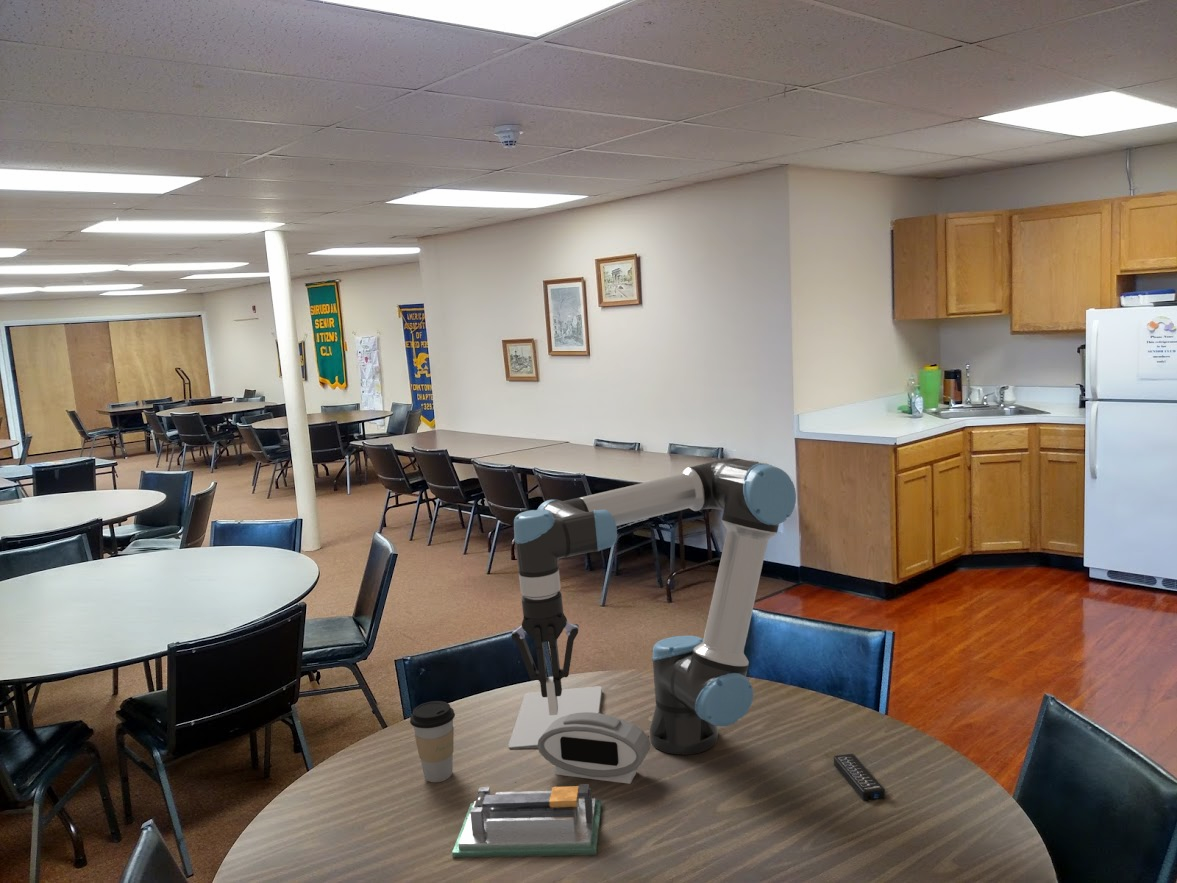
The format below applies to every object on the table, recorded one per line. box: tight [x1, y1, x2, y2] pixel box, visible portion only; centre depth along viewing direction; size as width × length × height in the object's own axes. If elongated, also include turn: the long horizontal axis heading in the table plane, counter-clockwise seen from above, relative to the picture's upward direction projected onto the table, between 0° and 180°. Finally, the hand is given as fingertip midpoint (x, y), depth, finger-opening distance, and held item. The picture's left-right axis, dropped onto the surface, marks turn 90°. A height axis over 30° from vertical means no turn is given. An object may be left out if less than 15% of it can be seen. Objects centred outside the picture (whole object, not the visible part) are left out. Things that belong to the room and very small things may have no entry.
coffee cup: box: [409, 700, 456, 783], centre depth 184 cm, size 9×9×15 cm
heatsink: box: [451, 783, 602, 858], centre depth 162 cm, size 26×16×8 cm, turn 86°
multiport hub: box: [833, 753, 886, 802], centre depth 171 cm, size 4×14×2 cm, turn 7°
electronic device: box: [507, 685, 603, 750], centre depth 208 cm, size 29×20×2 cm
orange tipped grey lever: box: [474, 785, 579, 808], centre depth 162 cm, size 19×5×2 cm, turn 86°
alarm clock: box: [537, 712, 652, 784], centre depth 180 cm, size 23×6×13 cm, turn 70°
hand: (553, 711), depth 164 cm, fingers closed
